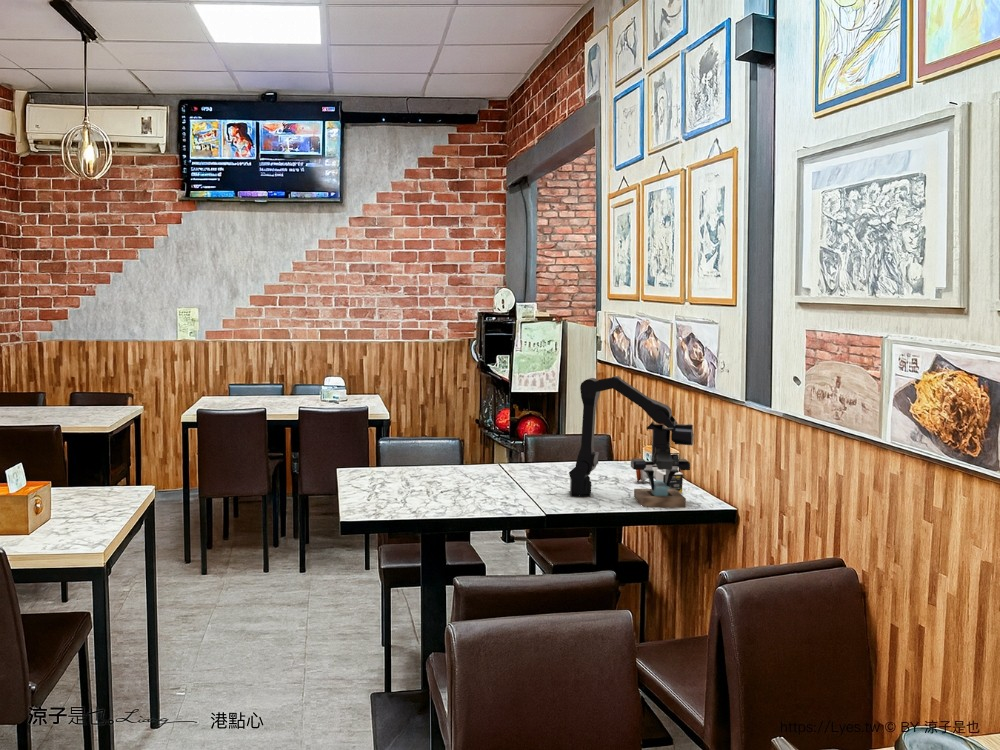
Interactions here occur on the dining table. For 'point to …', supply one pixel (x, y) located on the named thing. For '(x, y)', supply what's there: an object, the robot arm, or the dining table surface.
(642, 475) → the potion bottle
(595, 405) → the robot arm
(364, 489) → the dining table surface
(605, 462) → the dining table surface
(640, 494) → the brown square frame
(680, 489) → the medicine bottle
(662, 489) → the block
